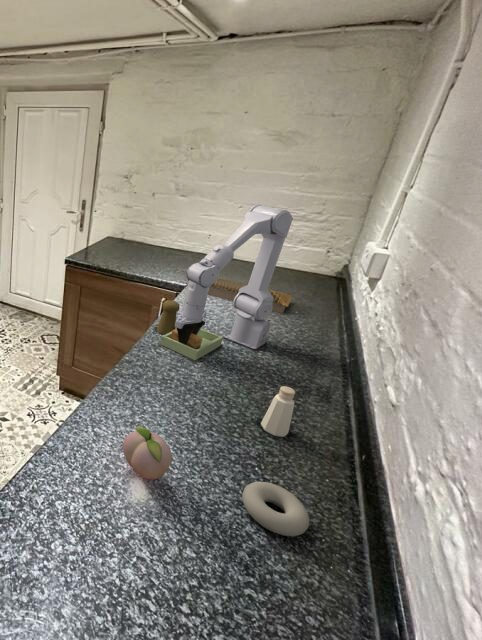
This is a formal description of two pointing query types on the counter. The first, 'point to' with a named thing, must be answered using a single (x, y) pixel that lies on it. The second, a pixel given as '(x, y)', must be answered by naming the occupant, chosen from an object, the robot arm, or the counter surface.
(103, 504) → the counter surface
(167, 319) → the pepper mill
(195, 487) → the counter surface
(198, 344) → the orange brown rectangular block
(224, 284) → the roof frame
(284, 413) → the salt shaker
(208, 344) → the tray
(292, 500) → the donut
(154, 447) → the decorative fruit
